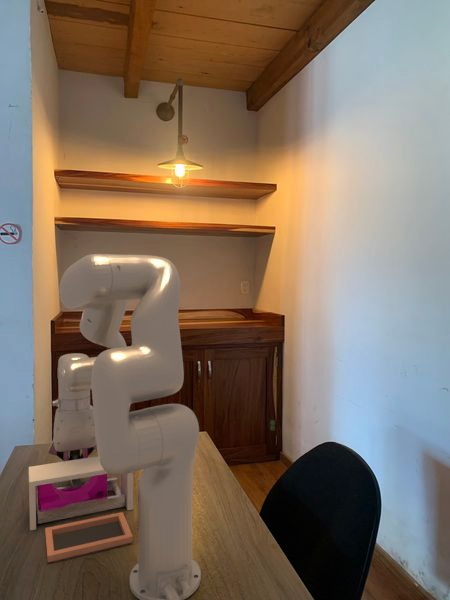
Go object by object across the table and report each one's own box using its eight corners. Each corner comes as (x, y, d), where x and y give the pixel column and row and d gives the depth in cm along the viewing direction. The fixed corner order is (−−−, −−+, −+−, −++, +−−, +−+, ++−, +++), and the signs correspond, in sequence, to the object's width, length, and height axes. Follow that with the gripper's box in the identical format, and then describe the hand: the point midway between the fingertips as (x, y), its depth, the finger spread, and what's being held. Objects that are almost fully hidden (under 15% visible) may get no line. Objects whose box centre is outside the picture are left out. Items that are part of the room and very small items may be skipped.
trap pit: (132, 543, 91) (132, 536, 91) (47, 563, 85) (47, 556, 84) (122, 518, 100) (122, 511, 100) (45, 535, 94) (45, 528, 94)
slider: (124, 506, 104) (124, 470, 104) (37, 523, 97) (37, 485, 96) (110, 473, 121) (110, 442, 120) (35, 486, 114) (35, 453, 113)
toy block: (41, 524, 98) (40, 490, 98) (37, 511, 103) (37, 479, 103) (110, 507, 105) (109, 476, 105) (103, 495, 111) (103, 465, 110)
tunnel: (132, 509, 104) (132, 464, 103) (30, 530, 95) (29, 482, 94) (125, 493, 111) (125, 451, 111) (29, 511, 102) (28, 466, 102)
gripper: (40, 411, 107) (41, 486, 108) (109, 403, 114) (110, 474, 115) (39, 402, 114) (40, 473, 115) (104, 395, 120) (105, 462, 122)
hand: (75, 473), depth 115 cm, fingers closed on slider, 2 cm apart
